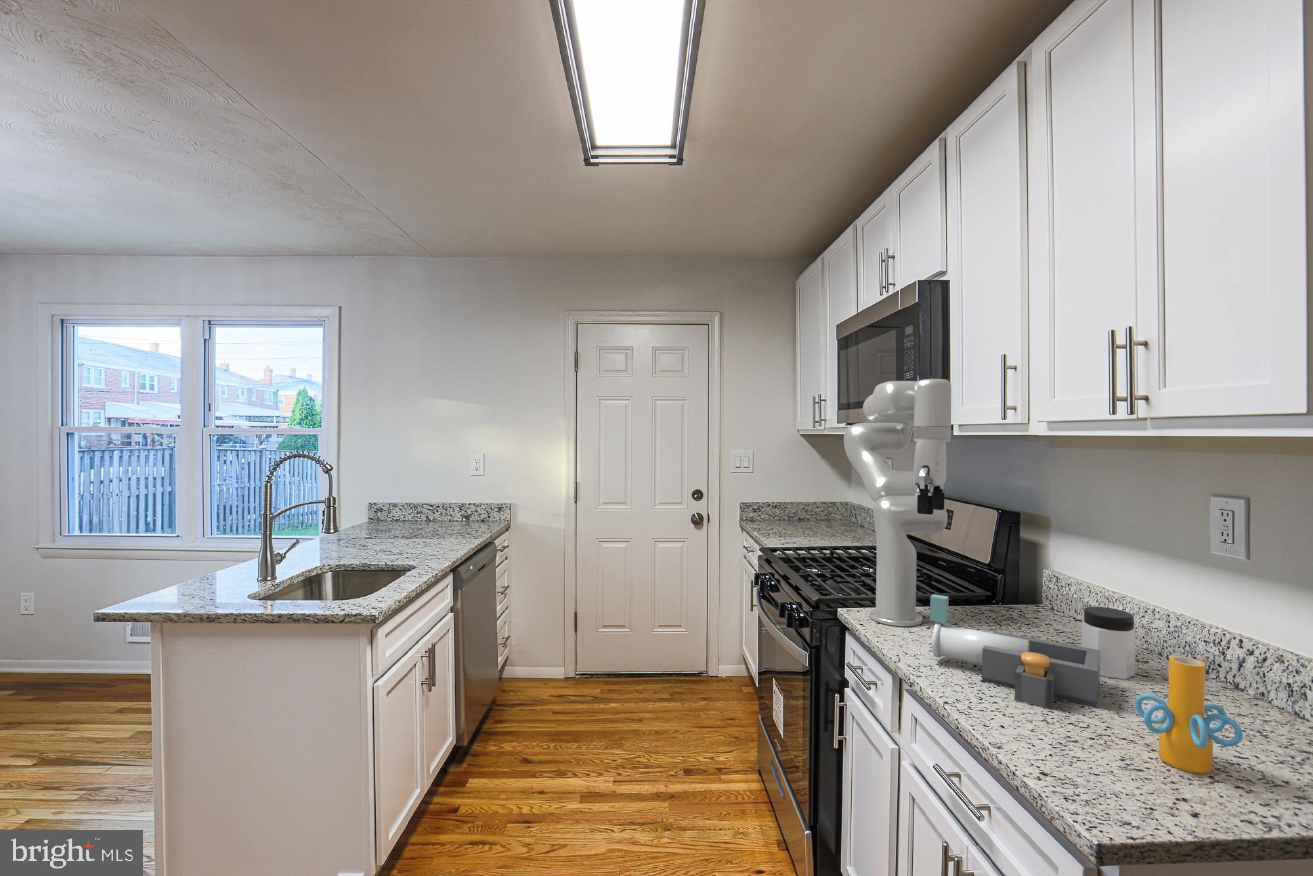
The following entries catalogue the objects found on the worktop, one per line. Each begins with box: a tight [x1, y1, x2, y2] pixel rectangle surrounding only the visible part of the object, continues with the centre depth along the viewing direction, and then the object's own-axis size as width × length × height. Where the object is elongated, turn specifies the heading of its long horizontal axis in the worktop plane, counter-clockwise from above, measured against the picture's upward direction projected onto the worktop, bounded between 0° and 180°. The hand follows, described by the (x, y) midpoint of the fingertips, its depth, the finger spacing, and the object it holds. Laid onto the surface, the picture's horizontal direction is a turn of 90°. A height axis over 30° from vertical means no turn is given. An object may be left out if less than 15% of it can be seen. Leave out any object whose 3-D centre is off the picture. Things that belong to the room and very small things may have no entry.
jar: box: [1080, 606, 1137, 681], centre depth 125 cm, size 9×8×12 cm
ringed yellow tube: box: [1134, 655, 1244, 774], centre depth 90 cm, size 12×10×15 cm
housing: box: [981, 630, 1101, 710], centre depth 116 cm, size 19×18×6 cm
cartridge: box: [929, 593, 1030, 665], centre depth 125 cm, size 7×18×13 cm, turn 53°
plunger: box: [1021, 652, 1050, 677], centre depth 111 cm, size 4×4×7 cm
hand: (930, 511), depth 137 cm, fingers open, 9 cm apart
